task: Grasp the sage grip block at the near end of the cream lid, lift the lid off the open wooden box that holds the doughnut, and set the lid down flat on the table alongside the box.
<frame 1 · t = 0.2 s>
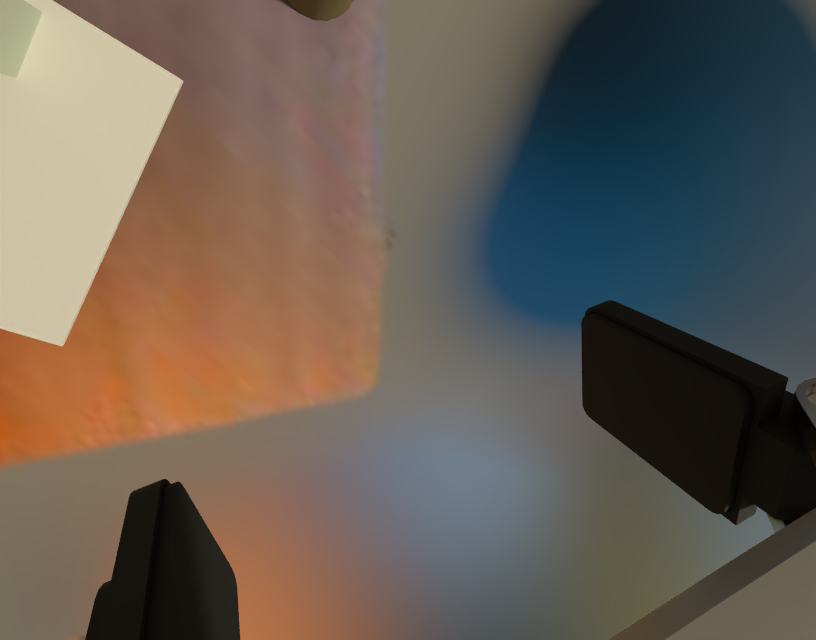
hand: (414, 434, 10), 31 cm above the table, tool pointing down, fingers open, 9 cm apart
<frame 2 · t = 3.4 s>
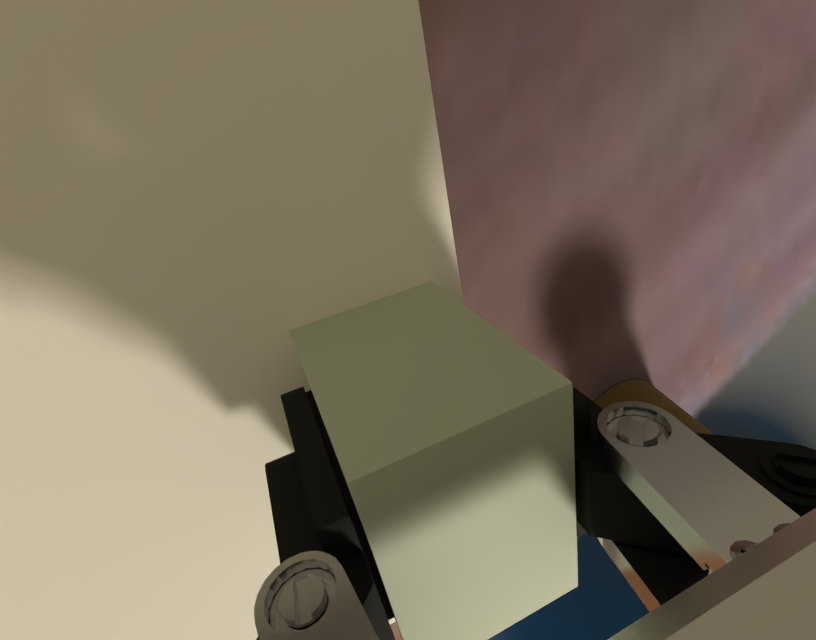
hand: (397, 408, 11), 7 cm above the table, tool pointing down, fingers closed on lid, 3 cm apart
lid: (119, 476, 11), point 5 cm above the table, touching gripper, open wooden box
cork: (614, 422, 27), on the table
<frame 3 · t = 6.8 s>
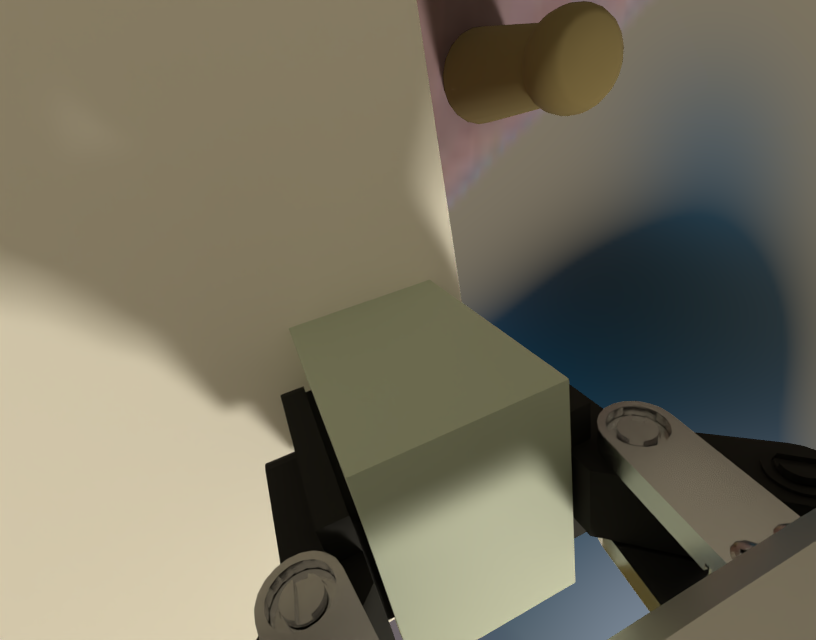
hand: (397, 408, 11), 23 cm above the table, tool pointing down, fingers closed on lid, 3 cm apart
lid: (120, 473, 11), point 21 cm above the table, touching gripper
cork: (480, 77, 32), on the table
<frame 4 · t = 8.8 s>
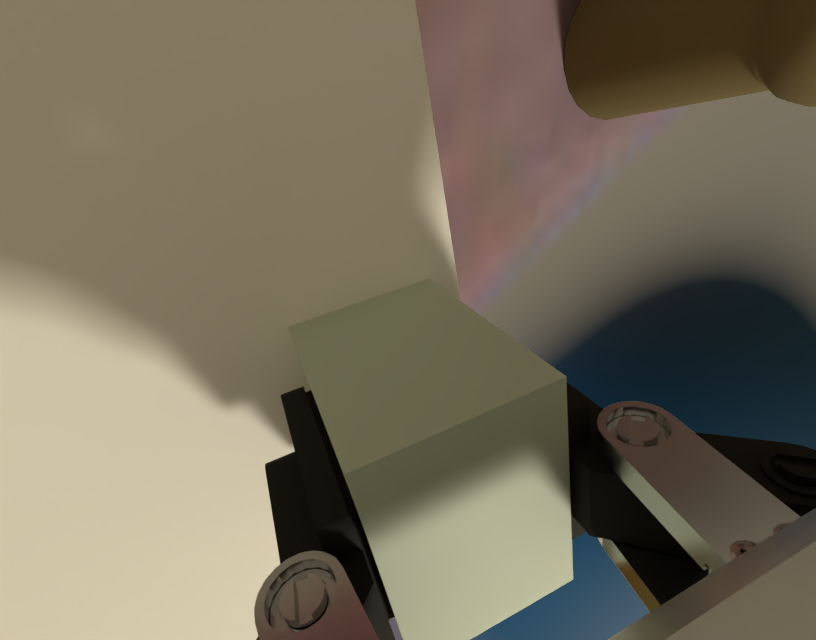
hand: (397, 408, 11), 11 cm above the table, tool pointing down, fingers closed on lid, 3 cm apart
lid: (120, 471, 11), point 9 cm above the table, touching gripper
cork: (613, 50, 22), on the table
when the fingers open (3 cm above the table, at t = 10.6 s): lid drops 2 cm, on the table.
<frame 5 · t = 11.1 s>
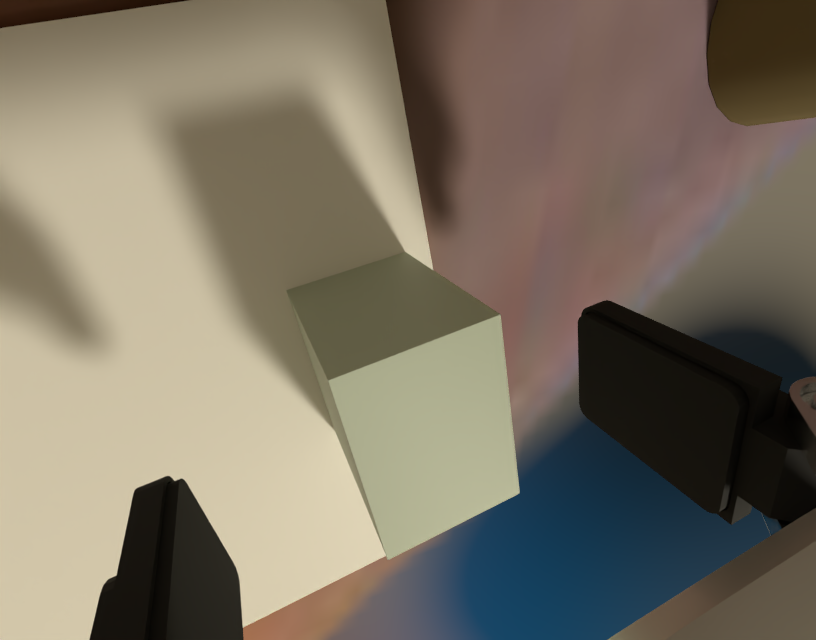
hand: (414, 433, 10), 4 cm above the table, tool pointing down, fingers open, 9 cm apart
lid: (144, 414, 13), on the table
cork: (768, 29, 15), on the table
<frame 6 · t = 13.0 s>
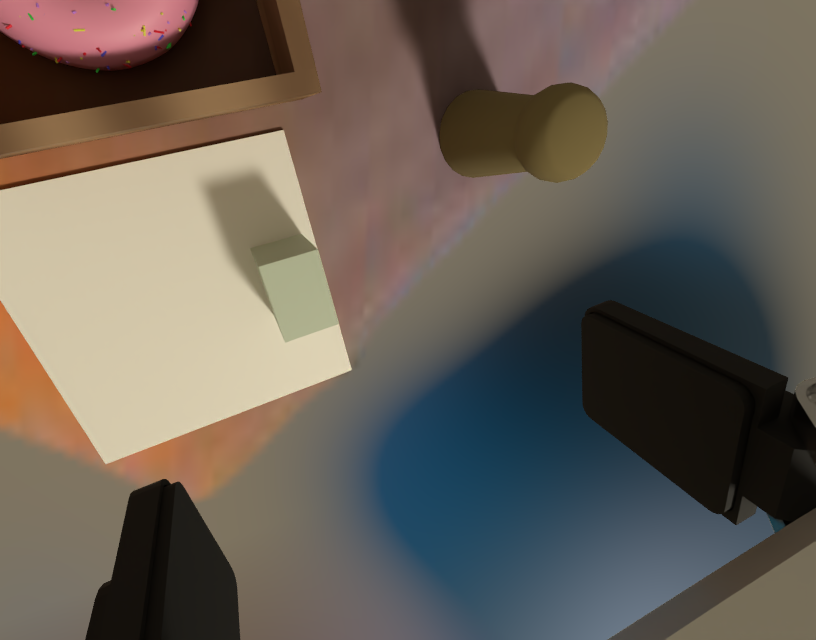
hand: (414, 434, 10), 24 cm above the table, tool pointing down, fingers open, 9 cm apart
lid: (190, 301, 30), on the table
cork: (474, 134, 34), on the table
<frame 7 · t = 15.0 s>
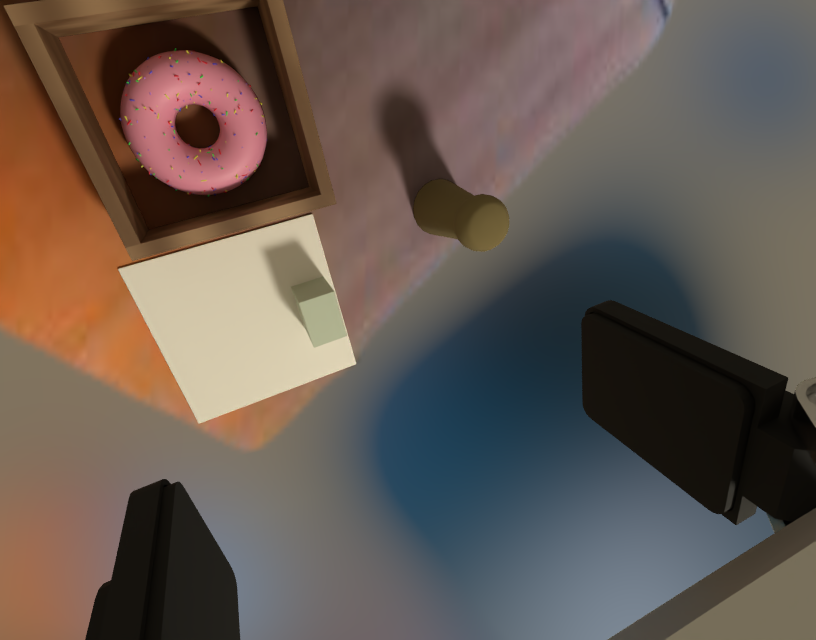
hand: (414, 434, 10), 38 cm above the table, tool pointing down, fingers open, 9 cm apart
lid: (252, 320, 47), on the table
cork: (437, 207, 50), on the table
doughnut: (198, 126, 39), resting in open wooden box
open wooden box: (200, 122, 39), on the table
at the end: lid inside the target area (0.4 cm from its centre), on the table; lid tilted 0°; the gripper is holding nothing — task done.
